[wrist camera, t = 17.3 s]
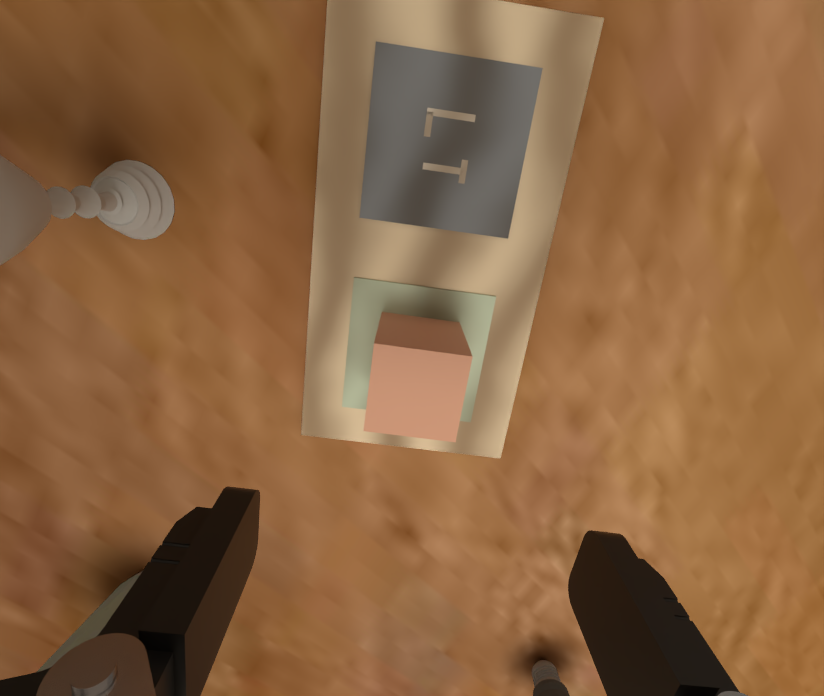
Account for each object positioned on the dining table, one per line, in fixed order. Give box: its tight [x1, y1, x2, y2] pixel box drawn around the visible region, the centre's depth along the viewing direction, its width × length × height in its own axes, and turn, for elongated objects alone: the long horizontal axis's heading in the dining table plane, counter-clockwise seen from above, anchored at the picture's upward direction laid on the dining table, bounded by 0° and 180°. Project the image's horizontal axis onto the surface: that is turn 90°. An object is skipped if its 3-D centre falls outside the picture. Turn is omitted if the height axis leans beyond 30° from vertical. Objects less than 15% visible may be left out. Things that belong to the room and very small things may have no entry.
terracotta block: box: [364, 312, 473, 442], centre depth 29 cm, size 6×6×7 cm
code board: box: [301, 0, 604, 458], centre depth 30 cm, size 16×30×1 cm, turn 172°
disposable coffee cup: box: [37, 572, 142, 672], centre depth 34 cm, size 11×11×15 cm
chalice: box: [0, 155, 174, 265], centre depth 21 cm, size 7×7×18 cm
